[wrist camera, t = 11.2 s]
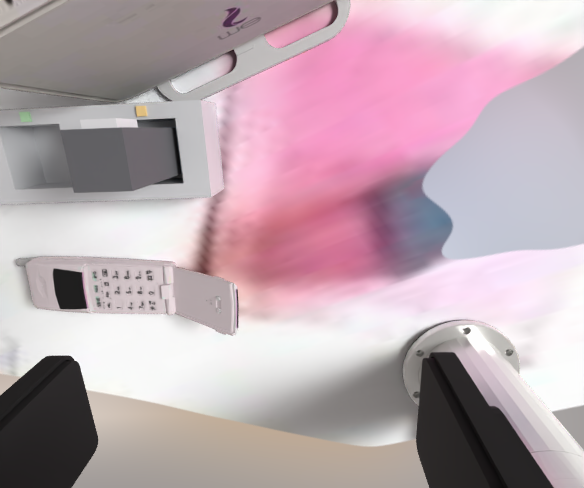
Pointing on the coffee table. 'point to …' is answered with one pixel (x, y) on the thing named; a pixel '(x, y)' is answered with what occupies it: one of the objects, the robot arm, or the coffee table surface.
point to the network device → (143, 43)
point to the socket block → (49, 121)
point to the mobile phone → (131, 289)
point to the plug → (119, 155)
